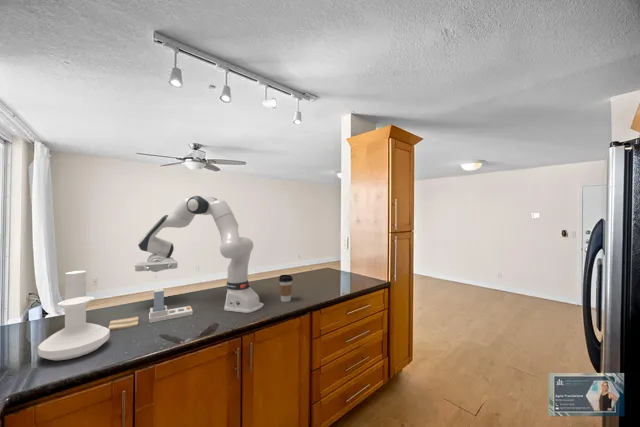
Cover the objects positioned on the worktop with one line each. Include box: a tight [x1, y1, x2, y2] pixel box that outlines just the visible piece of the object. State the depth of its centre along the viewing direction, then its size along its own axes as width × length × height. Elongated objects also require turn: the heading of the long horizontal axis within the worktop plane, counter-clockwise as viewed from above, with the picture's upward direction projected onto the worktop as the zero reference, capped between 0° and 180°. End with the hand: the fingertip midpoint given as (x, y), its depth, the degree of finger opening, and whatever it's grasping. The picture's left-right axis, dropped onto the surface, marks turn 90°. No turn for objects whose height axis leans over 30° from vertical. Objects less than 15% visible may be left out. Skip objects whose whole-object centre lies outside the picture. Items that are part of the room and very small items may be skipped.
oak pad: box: [107, 315, 139, 332], centre depth 124 cm, size 11×11×1 cm
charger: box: [153, 288, 165, 312], centre depth 132 cm, size 5×4×12 cm
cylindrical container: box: [64, 270, 87, 328], centre depth 122 cm, size 7×7×25 cm
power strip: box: [148, 305, 194, 324], centre depth 135 cm, size 19×9×4 cm, turn 124°
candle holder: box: [37, 296, 111, 362], centre depth 99 cm, size 20×20×19 cm
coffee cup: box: [278, 274, 294, 303], centre depth 160 cm, size 8×8×15 cm
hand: (157, 268), depth 141 cm, fingers open, 8 cm apart
